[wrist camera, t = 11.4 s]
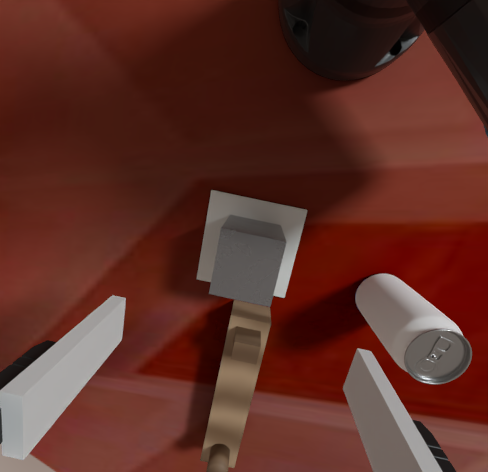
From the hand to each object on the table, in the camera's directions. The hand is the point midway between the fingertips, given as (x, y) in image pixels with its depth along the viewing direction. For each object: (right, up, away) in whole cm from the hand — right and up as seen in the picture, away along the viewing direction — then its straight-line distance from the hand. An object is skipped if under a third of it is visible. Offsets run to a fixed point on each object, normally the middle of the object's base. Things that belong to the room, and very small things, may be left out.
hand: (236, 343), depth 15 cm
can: (+18, -2, +20) cm, 27 cm away
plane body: (-1, -15, +25) cm, 28 cm away
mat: (+1, +5, +20) cm, 20 cm away
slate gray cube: (+1, +5, +19) cm, 20 cm away
